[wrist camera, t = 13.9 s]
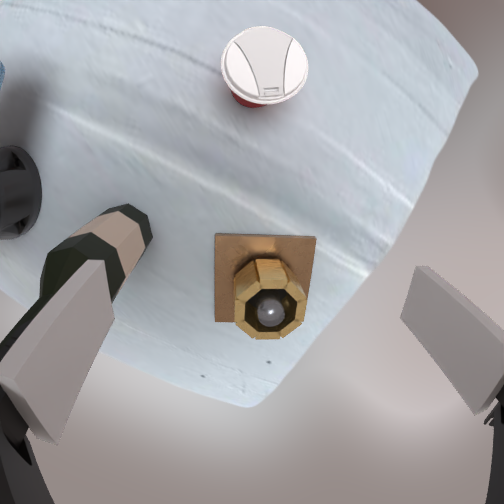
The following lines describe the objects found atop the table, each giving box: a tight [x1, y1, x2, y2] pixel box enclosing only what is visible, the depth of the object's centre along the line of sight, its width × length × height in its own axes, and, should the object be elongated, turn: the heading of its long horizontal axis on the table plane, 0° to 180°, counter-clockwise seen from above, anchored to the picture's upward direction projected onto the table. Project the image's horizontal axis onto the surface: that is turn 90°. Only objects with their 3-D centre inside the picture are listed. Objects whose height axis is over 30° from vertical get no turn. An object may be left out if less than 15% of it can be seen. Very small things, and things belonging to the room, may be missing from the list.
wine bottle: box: [0, 204, 153, 350], centre depth 25 cm, size 8×8×30 cm
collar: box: [233, 259, 307, 339], centre depth 38 cm, size 9×9×6 cm
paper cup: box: [221, 26, 308, 108], centre depth 27 cm, size 8×8×14 cm
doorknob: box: [215, 233, 316, 327], centre depth 39 cm, size 14×14×10 cm
